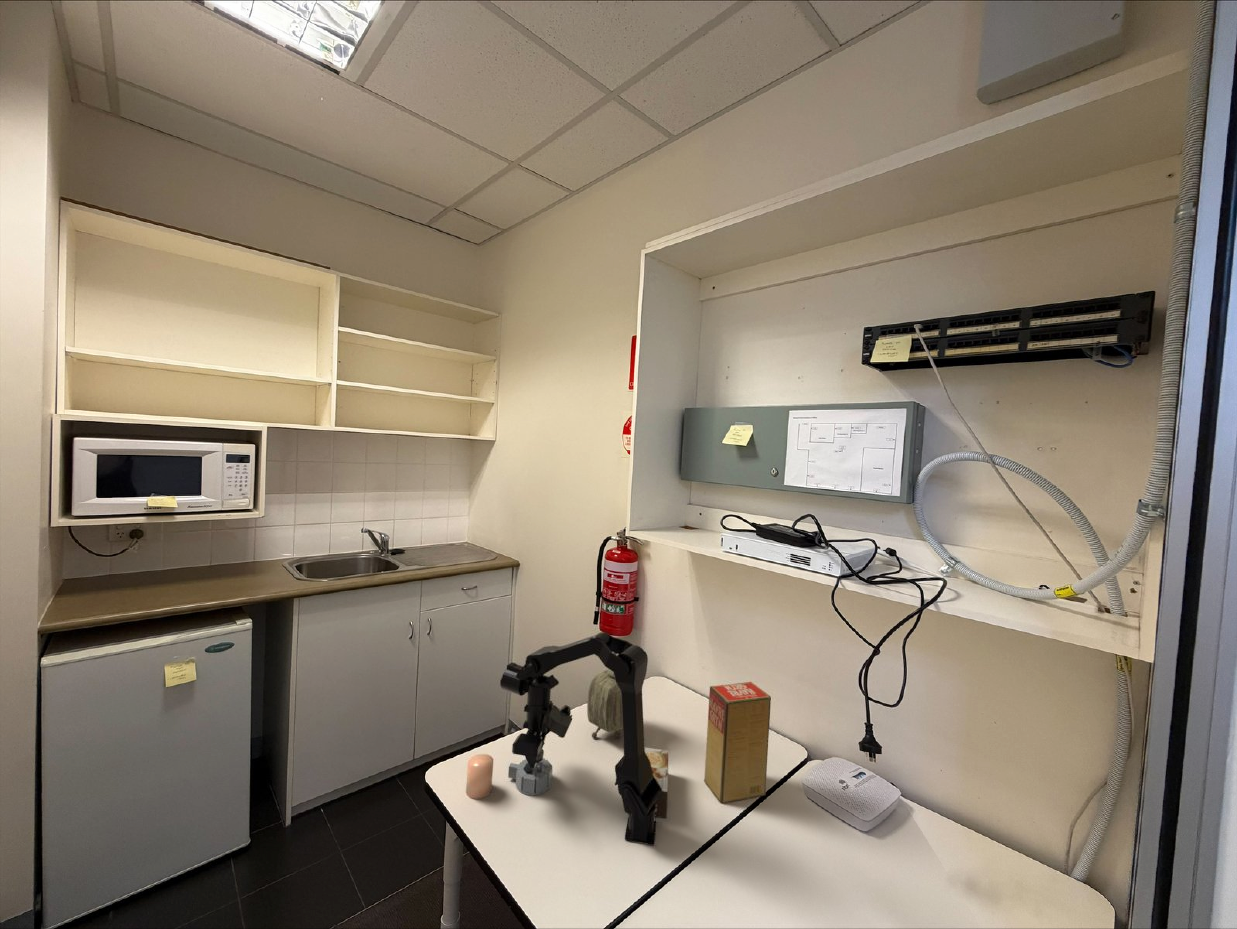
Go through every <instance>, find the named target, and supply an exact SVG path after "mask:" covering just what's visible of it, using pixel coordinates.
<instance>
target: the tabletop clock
mask: <svg viewBox="0 0 1237 929" xmlns="http://www.w3.org/2000/svg"><path fill="white" fill-rule="evenodd" d="M614 654H615V655H618V654H617V653H614ZM587 694H588V695H587V702H586V703H587V704H586V705H587V709H586V713H587V714H586V715H587V719H588V722H589V723H591V724H593V725H594V726H596V727H597V728H596V730H595V731H593V732H592V733H591V737H592V739H596V738H597V736H598V733H599V731H600V730H601V729H602V730H603V731H605V732H608V733H614V732H615V738H617V739H620V738H621V736H622V734H621V732H620V730H623V722H622V699H621V690H620V688H619V687H618V685H617V683H616V681H615V677H614V672H613V671H611V670H610V669H608V668H607V669H606V670H603V671H602V672H600V673H598V674H597V675H595V676H593V678H592V679H591V680H590V684H589V688H588V693H587Z"/></svg>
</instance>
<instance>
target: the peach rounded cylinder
mask: <svg viewBox="0 0 1237 929" xmlns="http://www.w3.org/2000/svg"><path fill="white" fill-rule="evenodd" d="M466 772H467V773H466V786H465V794H466V796H467V797H469V798H470V799H473V798H475V799H474V800H479V799H478V798H481V799H484V798H486V797H488V796H489V795H488V794H489V793H490V794H491V792H492V789H493V777H494V776H493V773H494V758H493V756H492V755H489V754H488V753H480V754H474V755H473V756H472V757H470V758H469V759H468V761H467V770H466ZM487 795H488V796H487ZM485 796H486V797H485Z"/></svg>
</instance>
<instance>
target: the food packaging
mask: <svg viewBox="0 0 1237 929" xmlns="http://www.w3.org/2000/svg"><path fill="white" fill-rule="evenodd" d="M708 697H709V698H708V714H707V729H706V730H707V733H706V735H707V736H706V748H705V765H704V766H705V767H704V769H705V770H704V779H703V781H704V783H705V785H706V786H707V787H708V789H709V790H710V791H711V792H712V794H713V795H714V797H715V799H716V800H717V801H718V803H720V804H727V803H728V804H729V803H732V802H737V801H742V800H747V799H748V800H749V799H754V798H758V797H759V798H760V797H763V796H766V790H767V787H766V786H767V771H768V770H767V768H768V767H767V765H768V751H769V735H770V722H771V721H770V719H771V703H772V702H771V701H772V698H771V695H769V694H768V693H767V692H766V691H764V690H763V689H761V688H760V687H759V686H758V685H757V684H755V683H753V681H747V682H737V683H731V684H730V683H729V684H721V685H719V684H718V685H710V686H709V695H708Z"/></svg>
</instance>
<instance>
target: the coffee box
mask: <svg viewBox="0 0 1237 929" xmlns="http://www.w3.org/2000/svg"><path fill="white" fill-rule="evenodd" d="M644 748H645V753H646V755H647V757H648V758H649V760H650V763H651V768H652V773H653V776H654V777H655V779H656V781H657V782H658V784H659V785H660V787H661V788H662V792H661V794H660V796H659V798H658V799H657V800H656V802H655V817H659V818H665V819H666V818H667V811H668V792H669V791H668V789H669V754H670V753H669V750H664V749H660V748H651V747H646V746H644Z"/></svg>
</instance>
